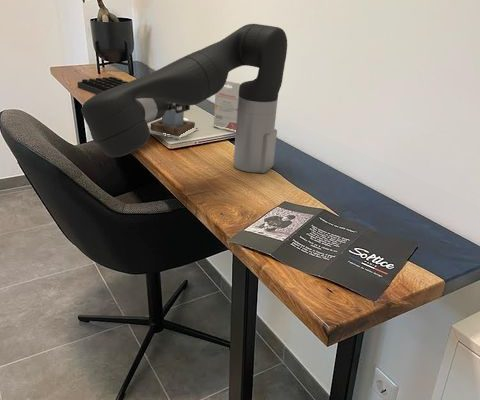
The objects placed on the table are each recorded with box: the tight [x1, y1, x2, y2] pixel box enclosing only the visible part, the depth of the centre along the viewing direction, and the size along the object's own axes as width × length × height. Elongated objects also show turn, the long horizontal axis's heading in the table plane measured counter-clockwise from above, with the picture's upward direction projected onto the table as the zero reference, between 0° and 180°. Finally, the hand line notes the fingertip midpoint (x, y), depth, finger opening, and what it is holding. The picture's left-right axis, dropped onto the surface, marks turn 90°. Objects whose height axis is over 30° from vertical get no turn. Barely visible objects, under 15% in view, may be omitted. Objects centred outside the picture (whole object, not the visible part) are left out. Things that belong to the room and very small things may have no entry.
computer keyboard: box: [77, 76, 128, 95], centre depth 175 cm, size 45×16×4 cm, turn 47°
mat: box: [149, 128, 180, 140], centre depth 143 cm, size 11×12×1 cm
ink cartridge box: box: [213, 80, 242, 130], centre depth 147 cm, size 9×5×15 cm, turn 62°
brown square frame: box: [150, 118, 196, 136], centre depth 143 cm, size 9×9×2 cm
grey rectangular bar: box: [161, 103, 185, 127], centre depth 140 cm, size 4×4×14 cm
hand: (177, 97), depth 141 cm, fingers open, 8 cm apart
